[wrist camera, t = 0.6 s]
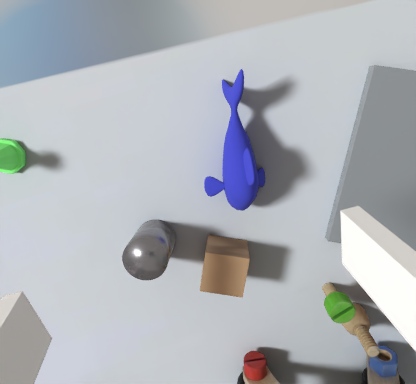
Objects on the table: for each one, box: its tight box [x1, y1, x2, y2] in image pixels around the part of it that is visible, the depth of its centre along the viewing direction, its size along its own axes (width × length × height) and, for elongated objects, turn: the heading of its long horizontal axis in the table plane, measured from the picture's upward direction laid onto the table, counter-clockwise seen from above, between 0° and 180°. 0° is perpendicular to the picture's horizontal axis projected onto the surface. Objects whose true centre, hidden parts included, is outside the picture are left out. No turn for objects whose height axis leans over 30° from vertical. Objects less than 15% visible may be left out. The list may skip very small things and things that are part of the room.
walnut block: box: [200, 235, 250, 297], centre depth 38 cm, size 5×5×5 cm
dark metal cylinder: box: [122, 220, 176, 280], centre depth 37 cm, size 5×5×6 cm
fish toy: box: [205, 69, 265, 210], centre depth 33 cm, size 15×8×7 cm, turn 6°
